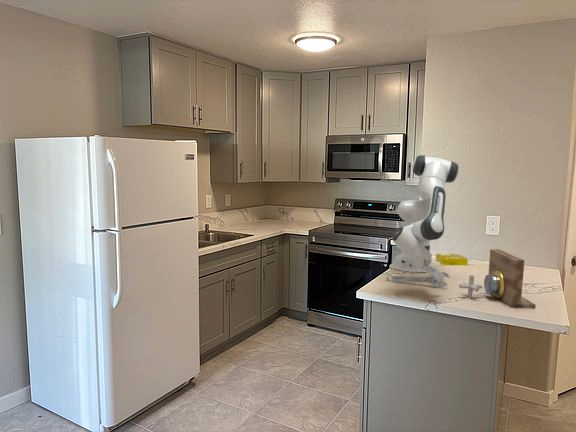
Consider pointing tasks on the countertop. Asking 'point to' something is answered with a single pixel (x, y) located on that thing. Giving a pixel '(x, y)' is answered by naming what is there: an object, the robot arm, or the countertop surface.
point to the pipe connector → (471, 286)
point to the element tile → (451, 259)
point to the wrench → (419, 279)
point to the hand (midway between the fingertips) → (442, 280)
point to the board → (510, 277)
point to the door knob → (495, 284)
